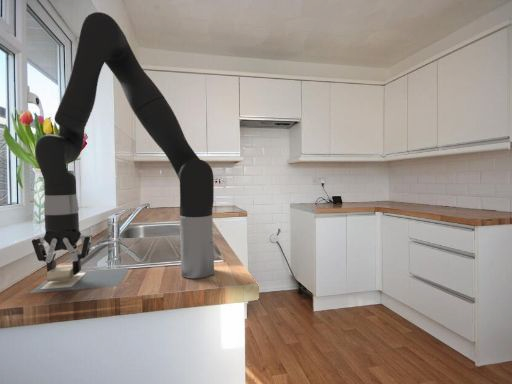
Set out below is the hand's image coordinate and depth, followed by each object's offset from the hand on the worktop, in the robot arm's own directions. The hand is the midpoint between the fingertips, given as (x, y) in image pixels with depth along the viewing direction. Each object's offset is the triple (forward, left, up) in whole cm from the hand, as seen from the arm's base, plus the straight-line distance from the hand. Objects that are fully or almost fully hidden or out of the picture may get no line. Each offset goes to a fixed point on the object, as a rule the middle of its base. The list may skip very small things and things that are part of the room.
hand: (64, 274), depth 79 cm
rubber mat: (-5, 0, -2) cm, 5 cm away
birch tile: (0, 0, 0) cm, 0 cm away
